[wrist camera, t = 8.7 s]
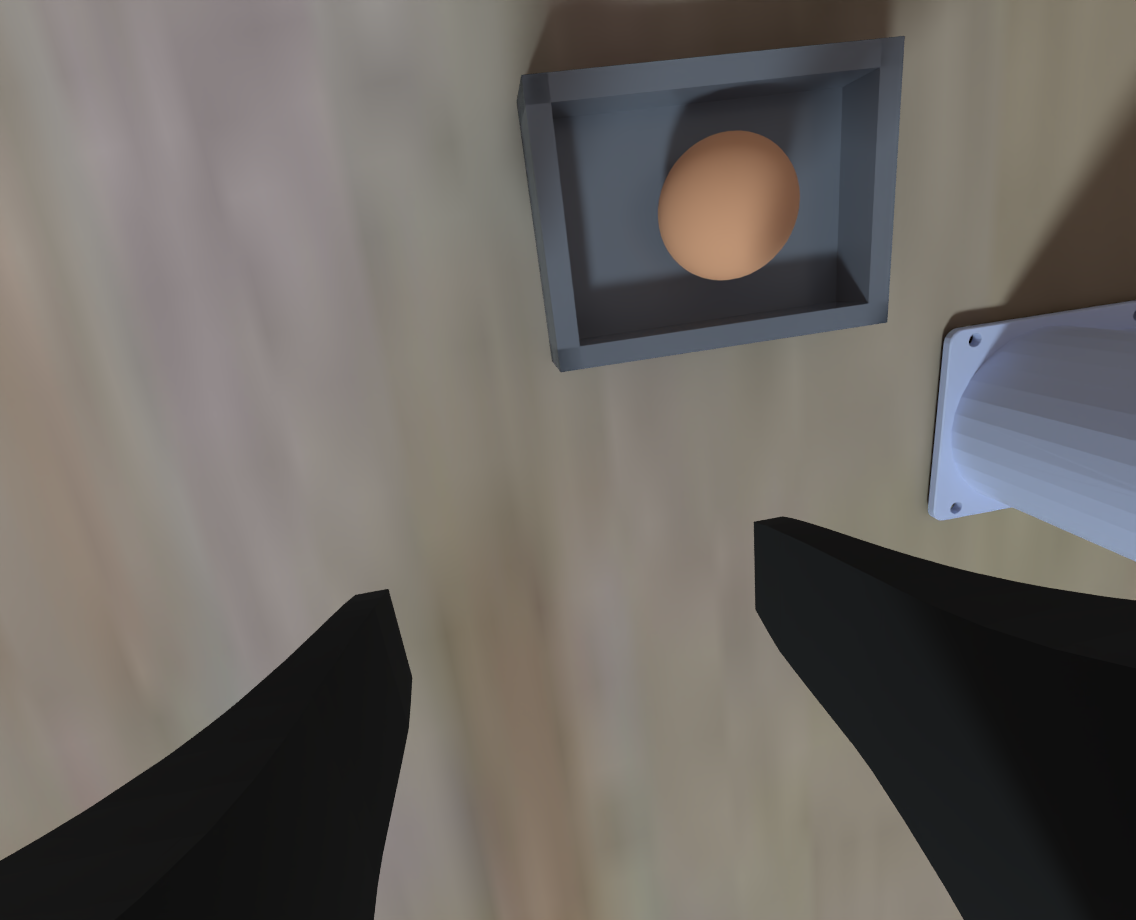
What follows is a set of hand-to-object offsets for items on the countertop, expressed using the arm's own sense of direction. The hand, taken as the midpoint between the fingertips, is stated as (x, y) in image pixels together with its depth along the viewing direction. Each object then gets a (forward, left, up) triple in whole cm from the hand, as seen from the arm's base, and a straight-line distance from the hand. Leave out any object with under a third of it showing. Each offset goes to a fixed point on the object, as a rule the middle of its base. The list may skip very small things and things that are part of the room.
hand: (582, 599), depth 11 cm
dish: (-7, -7, -10) cm, 14 cm away
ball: (-7, -7, -10) cm, 14 cm away
